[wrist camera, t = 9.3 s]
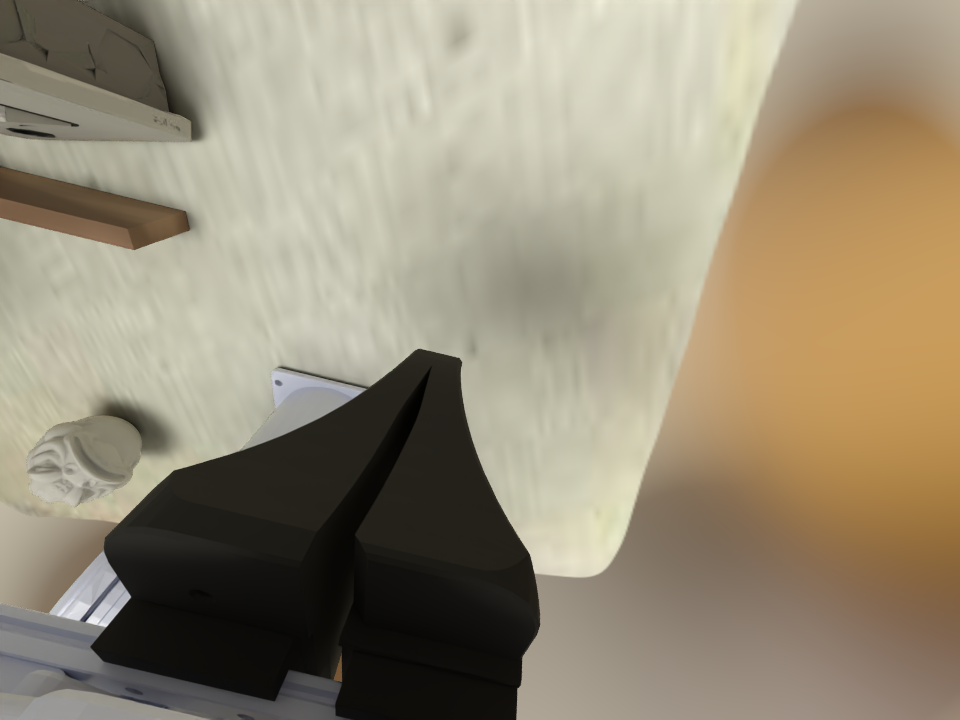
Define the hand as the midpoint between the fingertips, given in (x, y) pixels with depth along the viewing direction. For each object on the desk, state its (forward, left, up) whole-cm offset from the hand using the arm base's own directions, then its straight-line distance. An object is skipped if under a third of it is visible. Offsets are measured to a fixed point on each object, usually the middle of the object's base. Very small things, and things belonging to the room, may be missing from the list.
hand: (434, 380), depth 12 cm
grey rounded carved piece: (-20, +25, -11) cm, 34 cm away
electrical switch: (+4, +19, -11) cm, 23 cm away
